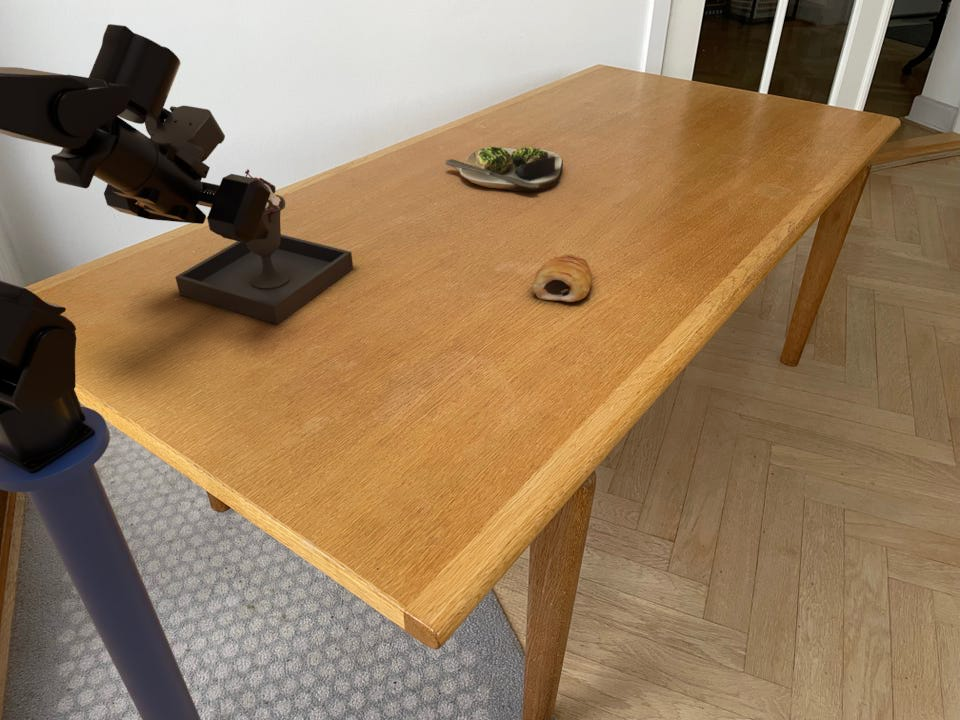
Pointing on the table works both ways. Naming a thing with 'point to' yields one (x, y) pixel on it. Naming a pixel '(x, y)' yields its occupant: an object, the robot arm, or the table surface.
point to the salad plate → (511, 168)
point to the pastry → (563, 279)
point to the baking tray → (236, 264)
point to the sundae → (269, 243)
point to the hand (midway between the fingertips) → (234, 226)
